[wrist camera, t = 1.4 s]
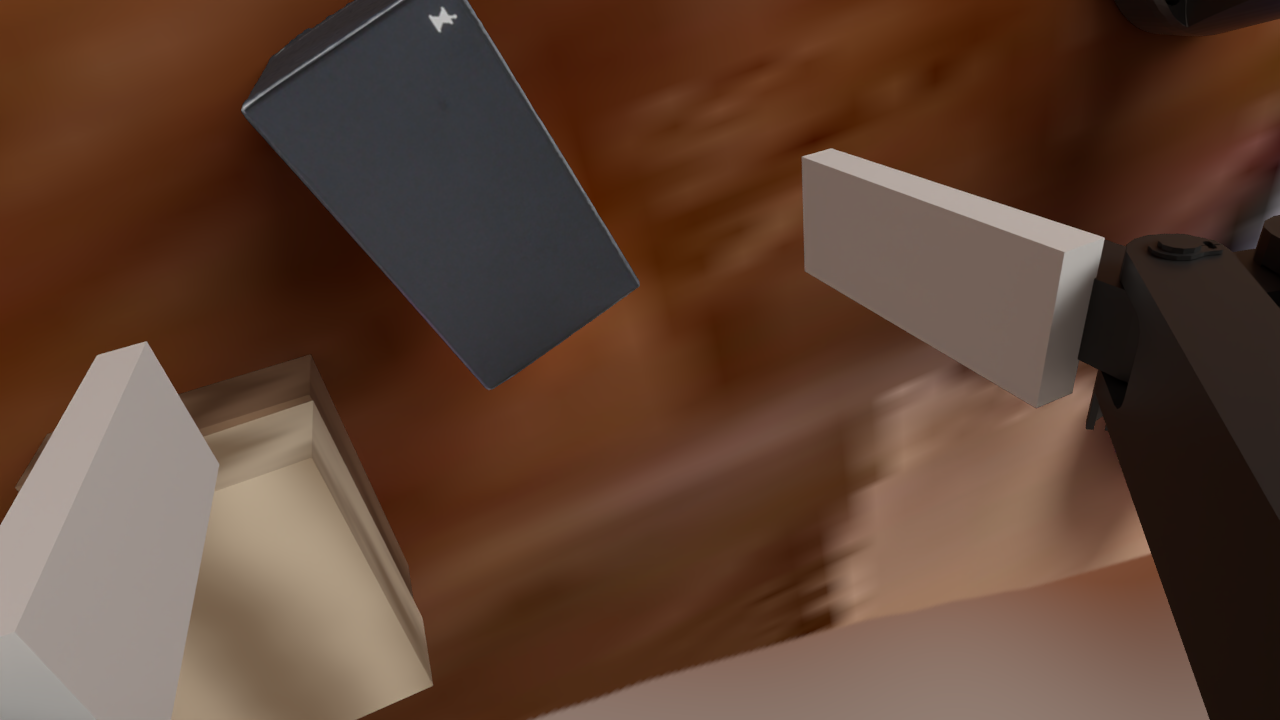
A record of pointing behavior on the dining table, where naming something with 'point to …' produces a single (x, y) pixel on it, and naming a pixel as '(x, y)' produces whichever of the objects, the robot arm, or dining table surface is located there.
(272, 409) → the tower base block
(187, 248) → the dining table surface
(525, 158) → the small box
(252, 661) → the tower top block
